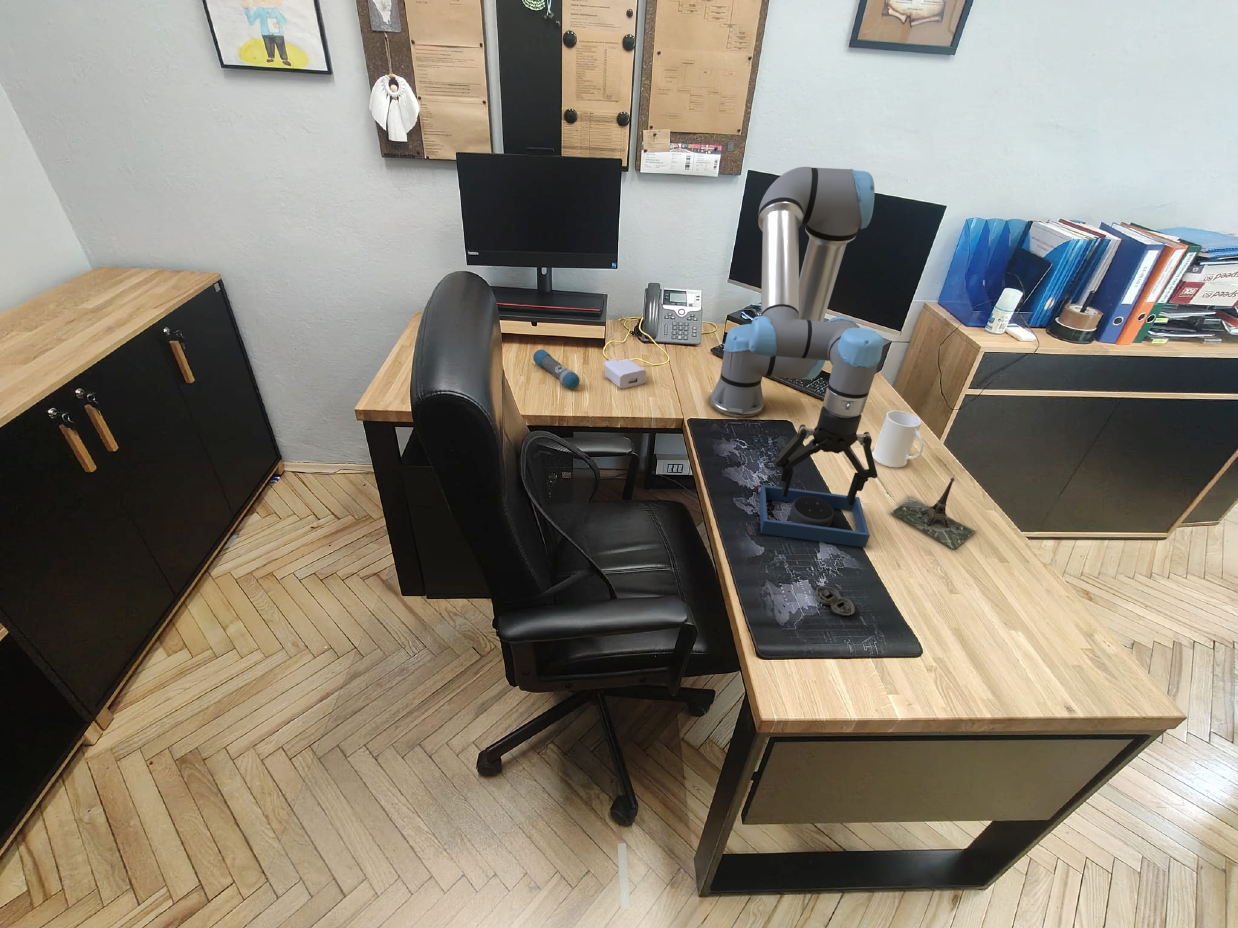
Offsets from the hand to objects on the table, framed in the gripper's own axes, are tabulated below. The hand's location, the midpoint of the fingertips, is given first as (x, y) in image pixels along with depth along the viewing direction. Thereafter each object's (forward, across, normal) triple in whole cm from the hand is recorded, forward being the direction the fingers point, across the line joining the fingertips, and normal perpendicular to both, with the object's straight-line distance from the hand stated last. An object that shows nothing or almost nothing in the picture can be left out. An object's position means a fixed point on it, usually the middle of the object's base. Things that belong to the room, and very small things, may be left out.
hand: (816, 497), depth 126 cm
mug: (+7, +24, +29) cm, 38 cm away
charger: (+6, -52, +60) cm, 80 cm away
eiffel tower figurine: (+7, +27, +5) cm, 28 cm away
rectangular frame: (+7, 0, 0) cm, 7 cm away
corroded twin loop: (+7, +2, -24) cm, 25 cm away
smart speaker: (+7, 0, 0) cm, 7 cm away
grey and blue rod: (+6, -71, +55) cm, 90 cm away
